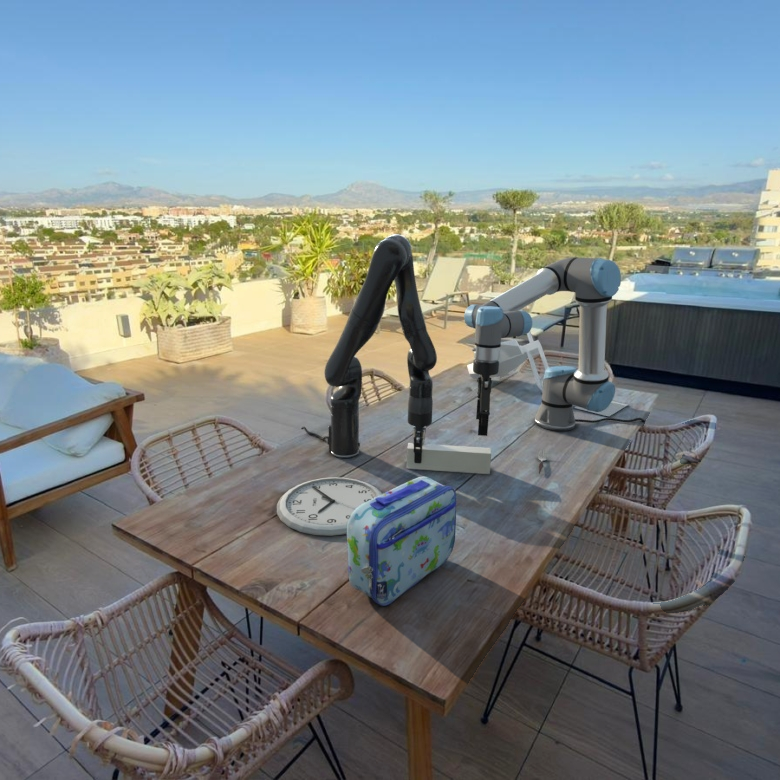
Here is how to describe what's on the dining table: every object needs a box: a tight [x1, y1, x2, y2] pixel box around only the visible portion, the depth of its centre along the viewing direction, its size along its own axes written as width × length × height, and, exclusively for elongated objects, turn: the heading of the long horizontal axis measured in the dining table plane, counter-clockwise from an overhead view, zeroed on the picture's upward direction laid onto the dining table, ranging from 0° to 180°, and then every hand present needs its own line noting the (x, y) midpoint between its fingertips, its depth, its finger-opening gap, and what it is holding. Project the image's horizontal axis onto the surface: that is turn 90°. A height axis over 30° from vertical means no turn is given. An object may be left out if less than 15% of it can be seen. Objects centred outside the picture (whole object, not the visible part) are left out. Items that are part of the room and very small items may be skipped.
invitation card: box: [573, 400, 629, 418], centre depth 226 cm, size 21×1×15 cm
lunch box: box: [346, 475, 457, 607], centre depth 111 cm, size 26×11×21 cm, turn 134°
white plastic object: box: [466, 308, 550, 392], centre depth 255 cm, size 37×45×31 cm
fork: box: [538, 449, 548, 474], centre depth 169 cm, size 3×16×2 cm, turn 160°
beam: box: [406, 442, 492, 475], centre depth 165 cm, size 26×4×7 cm, turn 83°
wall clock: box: [276, 476, 384, 537], centre depth 142 cm, size 30×2×30 cm
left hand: (418, 459), depth 166 cm, fingers closed on beam, 4 cm apart
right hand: (481, 426), depth 161 cm, fingers open, 13 cm apart
